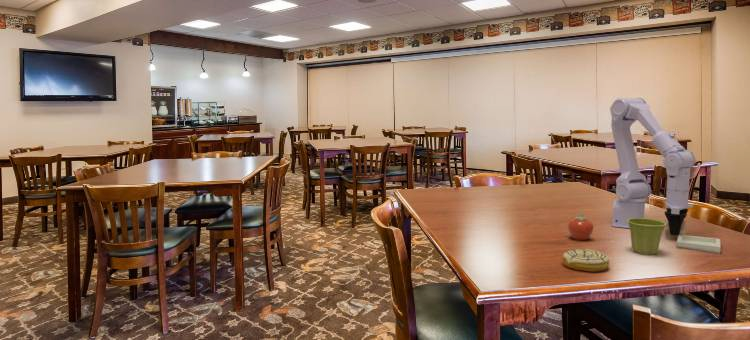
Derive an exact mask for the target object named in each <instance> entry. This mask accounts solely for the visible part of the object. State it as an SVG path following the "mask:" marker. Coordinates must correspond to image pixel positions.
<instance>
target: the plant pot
mask: <svg viewBox="0 0 750 340" xmlns="http://www.w3.org/2000/svg"><path fill="white" fill-rule="evenodd" d="M627 222H628V223H629V227H630V228H629V230H630V241H631V251H633V252H634V253H639V254H641V255H649V256H651V255H652V256H653V255H656V254H658V252H659V251H658V250H659V247H660V244H661V243H660V242H661V238H662V235H663V233H662V232H664V230H665V227H666V222H664V221H662V220H659V219H653V218H646V217H644V218H630V219H628V220H627Z"/></svg>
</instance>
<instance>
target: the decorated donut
mask: <svg viewBox="0 0 750 340" xmlns="http://www.w3.org/2000/svg"><path fill="white" fill-rule="evenodd" d="M562 259H563V260H562V261H563V265H564V266H565V267H567V268H569V269H574V270H575V271H582V272H591V273H593V272H594V273H595V272H602V271H605V270H607V268H608V267H609V266H610V257H609V256H608V255H607V254H605V253H604V252H602V251H600V250H595V249H587V248H585V249H584V248H577V249H570V250H568V251H565V252H564V253H563V255H562Z"/></svg>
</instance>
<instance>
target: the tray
mask: <svg viewBox="0 0 750 340" xmlns="http://www.w3.org/2000/svg"><path fill="white" fill-rule="evenodd" d="M721 247H722V246H721V238H714V237H705V236H695V235H687V234H685V235H680V234H679V235H678V239H677V240H676V248H677V249H682V250H683V249H684V250H688V251H690V250H691V251H696V252H705V253H714V254H721Z"/></svg>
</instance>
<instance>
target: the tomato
mask: <svg viewBox="0 0 750 340" xmlns="http://www.w3.org/2000/svg"><path fill="white" fill-rule="evenodd" d="M594 229H595V228H594V224H593V222H592V221H590V220H589V219H588V218H587V217H584V216H583V214H582V213H579V215H578V216H575V218H572V219H571V220H569V222H568V223H567V230H568V234H569V235H570V236H571V237H572V238H574V240H575V239H576V240H577V241H586V240H588V239H590V237H591V236H592V234H593V232H594ZM576 240H575V241H576Z"/></svg>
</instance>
